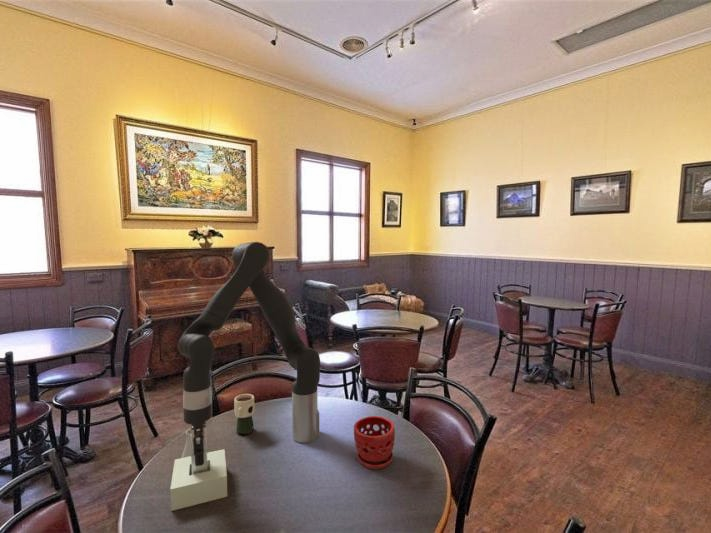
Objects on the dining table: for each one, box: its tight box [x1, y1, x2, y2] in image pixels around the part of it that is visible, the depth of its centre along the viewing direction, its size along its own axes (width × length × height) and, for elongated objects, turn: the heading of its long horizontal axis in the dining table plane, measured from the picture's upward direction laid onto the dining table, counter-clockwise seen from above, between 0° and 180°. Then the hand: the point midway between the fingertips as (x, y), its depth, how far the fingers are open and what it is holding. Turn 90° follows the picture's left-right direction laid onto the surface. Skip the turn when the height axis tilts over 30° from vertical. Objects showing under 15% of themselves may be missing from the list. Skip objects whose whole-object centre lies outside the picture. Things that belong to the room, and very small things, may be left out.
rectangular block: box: [191, 432, 208, 475], centre depth 103 cm, size 4×4×14 cm
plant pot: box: [353, 415, 396, 470], centre depth 115 cm, size 13×13×12 cm
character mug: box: [233, 393, 256, 435], centre depth 134 cm, size 11×7×13 cm, turn 178°
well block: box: [169, 448, 228, 512], centre depth 103 cm, size 14×14×6 cm
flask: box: [180, 428, 191, 458], centre depth 116 cm, size 7×7×10 cm
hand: (199, 460), depth 103 cm, fingers closed on rectangular block, 4 cm apart
